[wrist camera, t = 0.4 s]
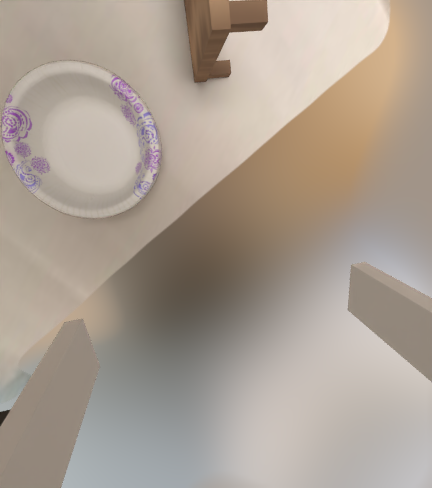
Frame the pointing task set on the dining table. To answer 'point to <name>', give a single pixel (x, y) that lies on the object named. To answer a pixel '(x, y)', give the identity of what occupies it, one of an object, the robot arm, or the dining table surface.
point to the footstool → (219, 31)
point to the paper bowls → (81, 139)
